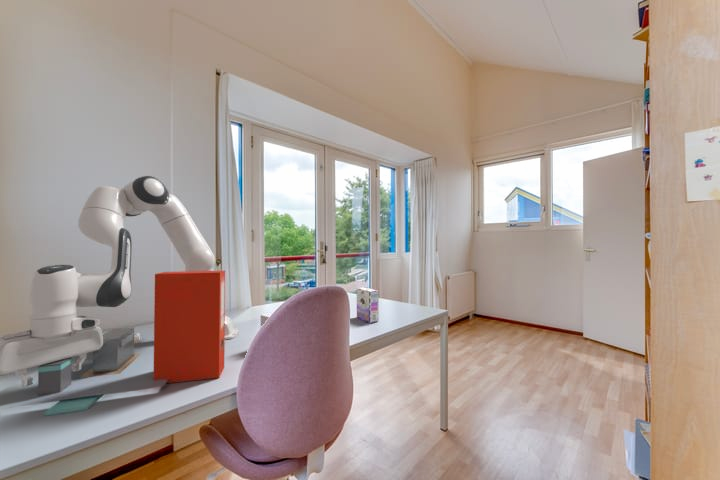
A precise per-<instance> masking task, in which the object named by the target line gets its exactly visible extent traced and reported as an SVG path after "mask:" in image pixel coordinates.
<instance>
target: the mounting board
mask: <svg viewBox="0 0 720 480" xmlns="http://www.w3.org/2000/svg"><path fill="white" fill-rule="evenodd" d="M141 354H142V353H134V357H132V358H131V359H130V360H129V361H128V362H127V363H126V364H125V365H123V366H122V367H121V368H120V369H119V370H118V371H113V372H104V373H96V374H93V367H91V368H90V369H88V370H87V371H86V372H85V373H83V374H82V375H80V376H79V377H78V379H82V378H83V379H84V378H85V379H86V378H92V377H101V376H108V375H118V374H121V373H123V372H124V370H126V369H127V368H128V367H129V366H130V365H131V364H132V363H133V362H134V361H135V360H136V359H137V358H139V357H140V356H141Z"/></svg>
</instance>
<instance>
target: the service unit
mask: <svg viewBox="0 0 720 480" xmlns="http://www.w3.org/2000/svg"><path fill="white" fill-rule="evenodd" d="M134 333H135V327H134V326H133V327H122V328H112V329H111V330H109V331H107V332H106V333H104V334H103V346H102V347H101V348H100V349H99V350H96V351H92V368H93V374H96V373H104V372H113V371H118V370H119V369H120V368H121V367H122V366H123V365H125V364H126V363H127V362H128V361H129V360H130V359H131V358H132V357H134V354H135V343H134Z"/></svg>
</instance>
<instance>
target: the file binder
mask: <svg viewBox="0 0 720 480" xmlns="http://www.w3.org/2000/svg"><path fill="white" fill-rule="evenodd" d="M153 309H154V312H153V313H154V317H153V320H154V321H153V323H154V324H153V325H154V326H153V381H160V380H167V381H166V383H165V384H171V383H181V382H190V381H191V382H192V381H199V380H210V379H218V378H220V377H221V375H222V373H223V371H224V368H225V345H226V342H225V341H226V340H225V315H226V311H225V310H226V270H214V271H163V272H158V273H155V274H154V308H153Z"/></svg>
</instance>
